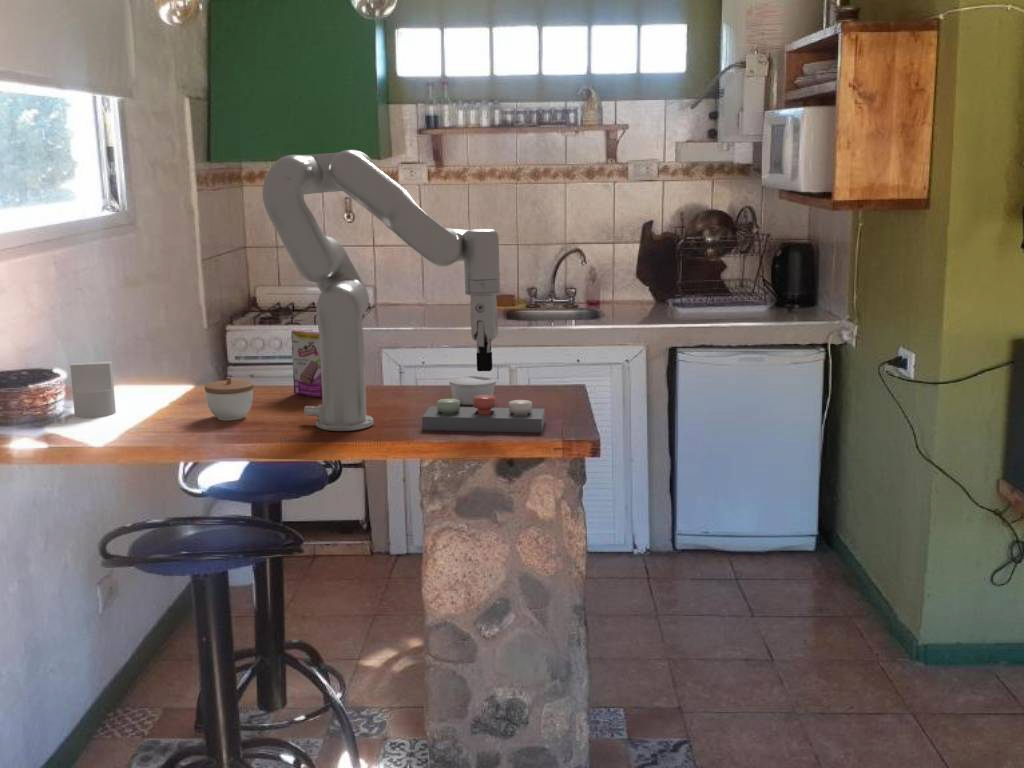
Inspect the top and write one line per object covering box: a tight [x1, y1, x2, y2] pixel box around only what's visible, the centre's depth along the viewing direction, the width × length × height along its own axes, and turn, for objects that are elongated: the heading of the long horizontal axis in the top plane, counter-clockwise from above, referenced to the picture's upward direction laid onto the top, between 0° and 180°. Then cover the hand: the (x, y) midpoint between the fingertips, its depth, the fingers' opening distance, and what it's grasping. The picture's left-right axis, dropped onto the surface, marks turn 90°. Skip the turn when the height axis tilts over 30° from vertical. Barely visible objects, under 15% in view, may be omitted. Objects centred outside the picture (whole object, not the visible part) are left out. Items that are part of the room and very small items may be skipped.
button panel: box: [421, 405, 546, 433], centre depth 236 cm, size 26×10×3 cm, turn 84°
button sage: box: [436, 398, 461, 414], centre depth 237 cm, size 5×5×5 cm
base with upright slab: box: [69, 360, 117, 419], centre depth 248 cm, size 9×9×12 cm
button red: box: [472, 395, 497, 415], centre depth 236 cm, size 5×5×5 cm
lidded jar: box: [204, 376, 254, 422], centre depth 244 cm, size 11×11×9 cm
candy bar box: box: [290, 327, 322, 399], centre depth 267 cm, size 11×5×16 cm, turn 59°
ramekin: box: [449, 375, 497, 406], centre depth 261 cm, size 11×11×5 cm
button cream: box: [508, 399, 533, 416], centre depth 235 cm, size 5×5×5 cm
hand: (484, 370), depth 234 cm, fingers closed
